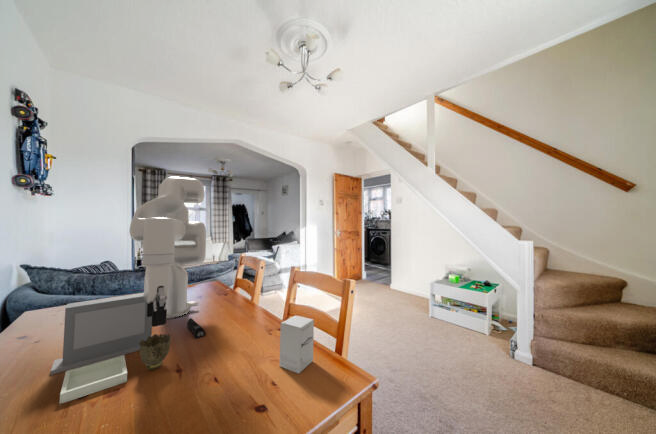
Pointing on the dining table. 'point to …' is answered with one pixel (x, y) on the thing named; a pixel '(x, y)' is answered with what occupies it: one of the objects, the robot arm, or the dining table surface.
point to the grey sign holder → (103, 330)
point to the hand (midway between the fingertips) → (156, 320)
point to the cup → (154, 350)
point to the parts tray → (93, 378)
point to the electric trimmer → (195, 328)
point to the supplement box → (296, 343)
